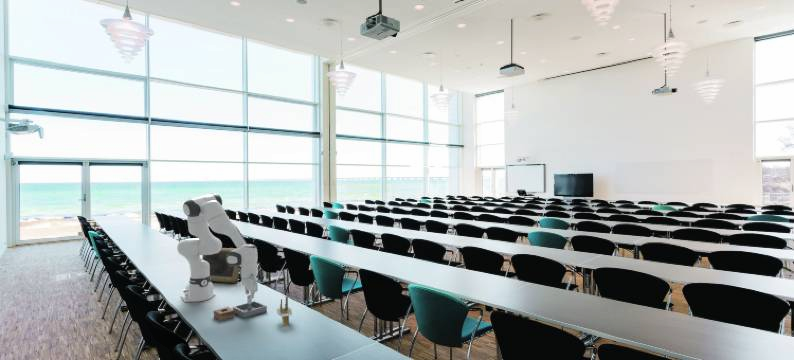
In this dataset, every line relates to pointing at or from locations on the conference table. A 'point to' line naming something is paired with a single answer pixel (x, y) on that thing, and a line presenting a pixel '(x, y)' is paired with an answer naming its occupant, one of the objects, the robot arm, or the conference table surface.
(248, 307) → the pin
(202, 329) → the conference table surface
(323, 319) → the conference table surface
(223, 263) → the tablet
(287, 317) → the architectural model
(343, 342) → the conference table surface
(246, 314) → the gray tray
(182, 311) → the conference table surface
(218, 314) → the block
